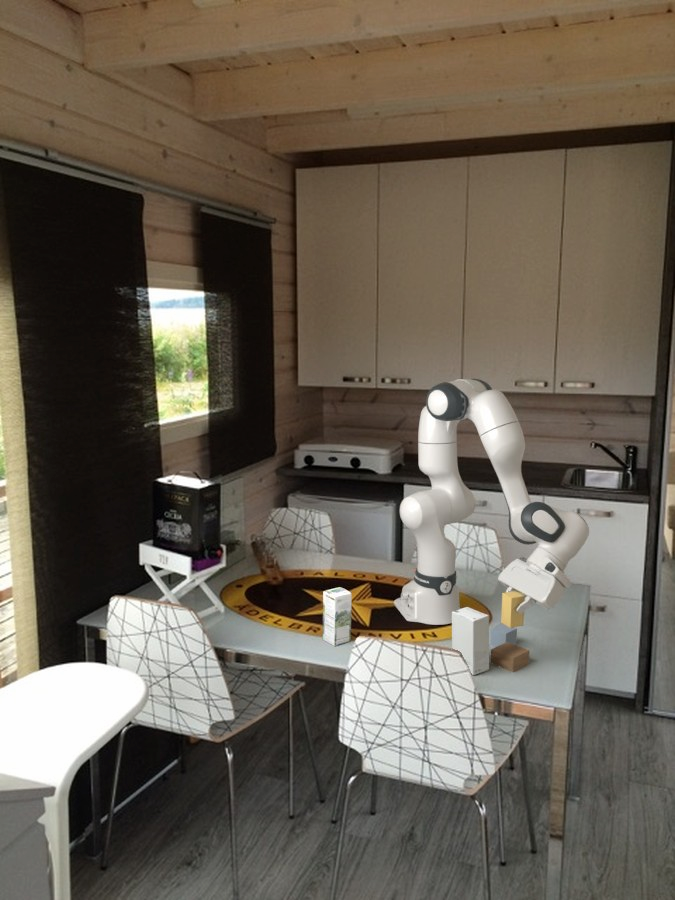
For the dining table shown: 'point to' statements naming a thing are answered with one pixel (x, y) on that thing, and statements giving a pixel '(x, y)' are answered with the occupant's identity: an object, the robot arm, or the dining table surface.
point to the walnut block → (509, 656)
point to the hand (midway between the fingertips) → (510, 608)
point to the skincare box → (471, 638)
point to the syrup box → (337, 616)
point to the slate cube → (503, 635)
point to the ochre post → (512, 609)
